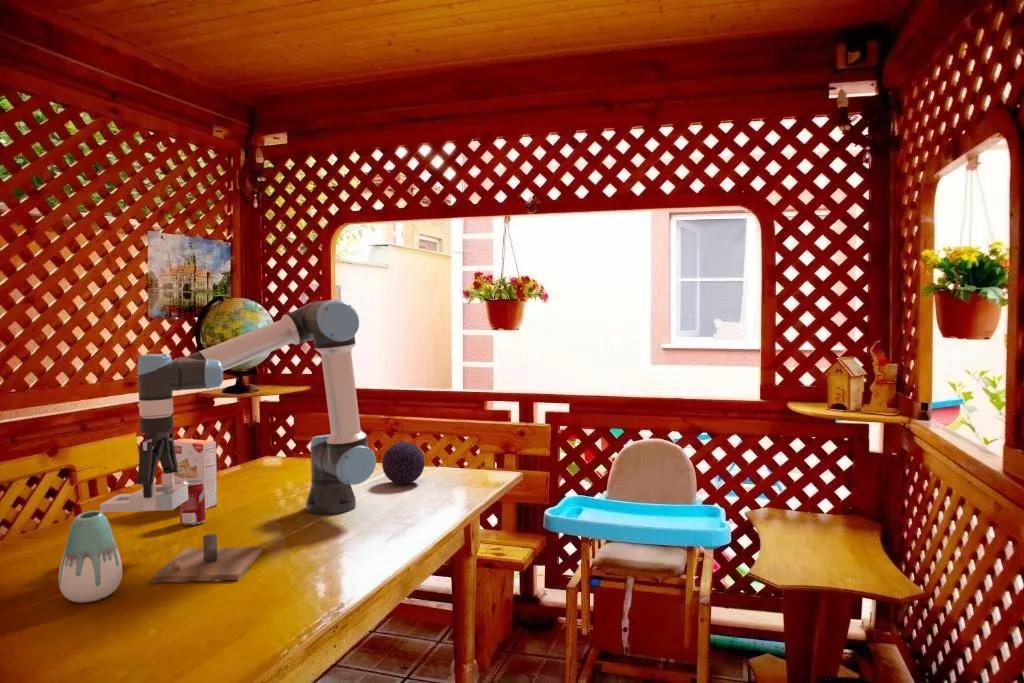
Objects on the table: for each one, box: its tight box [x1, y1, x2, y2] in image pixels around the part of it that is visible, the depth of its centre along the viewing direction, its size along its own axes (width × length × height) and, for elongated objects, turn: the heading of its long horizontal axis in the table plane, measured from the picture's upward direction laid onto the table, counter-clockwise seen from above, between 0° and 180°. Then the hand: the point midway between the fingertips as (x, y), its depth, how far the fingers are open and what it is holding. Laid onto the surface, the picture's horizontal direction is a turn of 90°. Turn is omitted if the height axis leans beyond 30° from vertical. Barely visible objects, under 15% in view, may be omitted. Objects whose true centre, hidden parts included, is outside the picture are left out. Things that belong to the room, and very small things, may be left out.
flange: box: [99, 484, 188, 513], centre depth 173 cm, size 17×10×4 cm, turn 94°
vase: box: [58, 510, 123, 604], centre depth 147 cm, size 12×12×18 cm
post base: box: [150, 533, 264, 584], centre depth 164 cm, size 19×19×8 cm
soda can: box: [179, 480, 207, 526], centre depth 200 cm, size 7×7×12 cm
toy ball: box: [381, 441, 426, 485], centre depth 247 cm, size 15×15×15 cm
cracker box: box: [173, 438, 218, 510], centre depth 218 cm, size 14×6×21 cm, turn 70°
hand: (159, 504), depth 173 cm, fingers closed on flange, 10 cm apart
